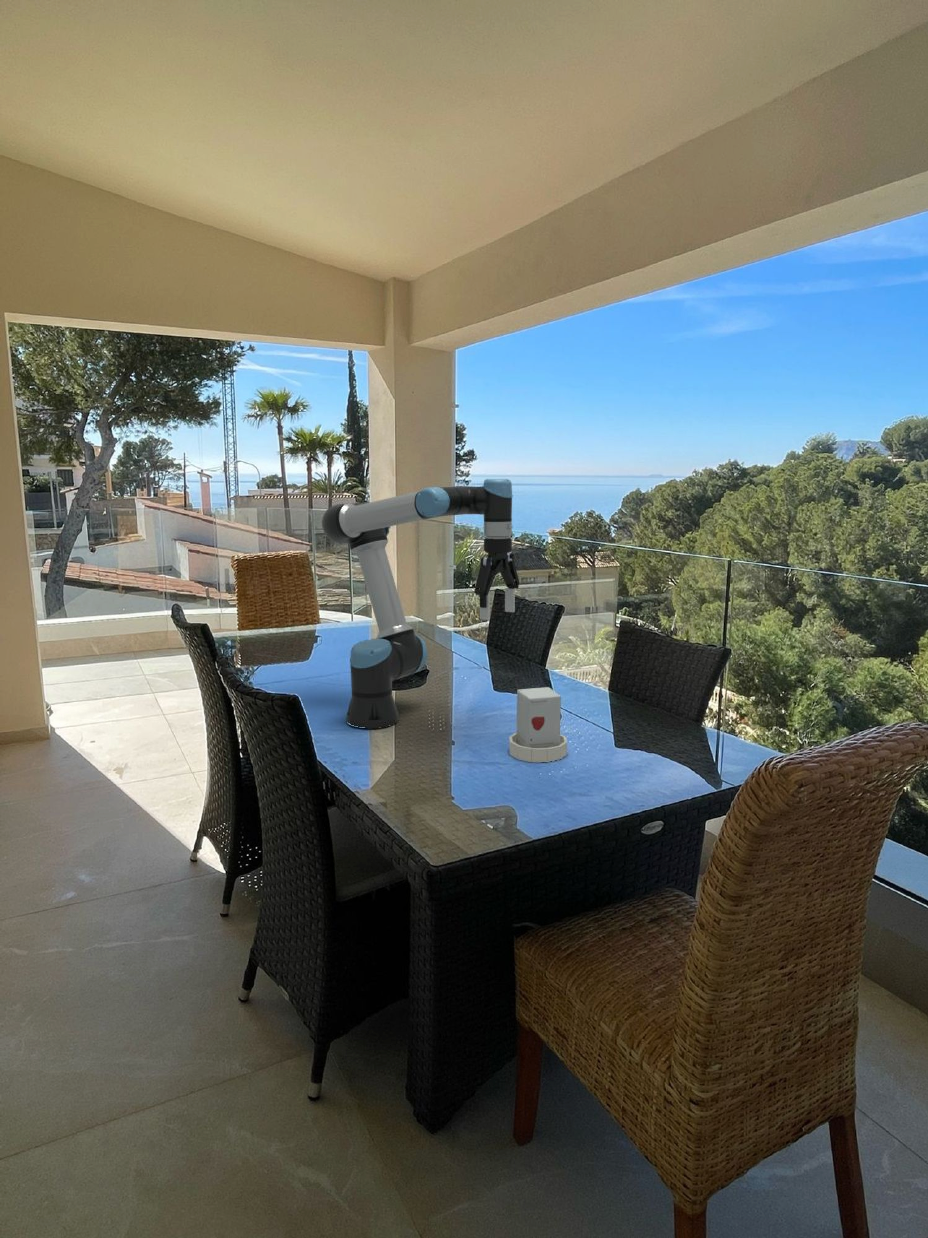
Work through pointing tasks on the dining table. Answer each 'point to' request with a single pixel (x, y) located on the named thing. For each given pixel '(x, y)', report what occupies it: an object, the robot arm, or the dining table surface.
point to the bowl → (537, 751)
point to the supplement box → (538, 718)
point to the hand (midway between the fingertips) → (497, 615)
